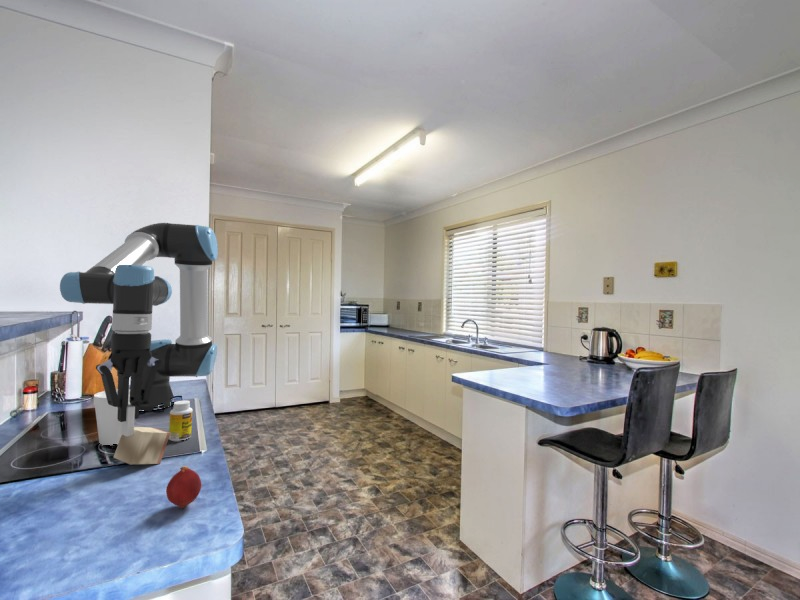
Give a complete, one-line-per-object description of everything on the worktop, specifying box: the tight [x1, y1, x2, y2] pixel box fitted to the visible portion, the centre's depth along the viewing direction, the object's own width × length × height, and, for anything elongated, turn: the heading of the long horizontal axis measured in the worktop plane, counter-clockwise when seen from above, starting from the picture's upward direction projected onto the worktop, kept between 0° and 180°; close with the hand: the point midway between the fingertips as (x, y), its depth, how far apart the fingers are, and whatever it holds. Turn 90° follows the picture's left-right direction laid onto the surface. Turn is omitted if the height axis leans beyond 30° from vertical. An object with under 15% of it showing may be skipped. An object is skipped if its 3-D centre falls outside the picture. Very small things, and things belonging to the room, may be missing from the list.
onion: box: [166, 465, 202, 509], centre depth 73 cm, size 6×6×8 cm
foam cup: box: [93, 388, 130, 446], centre depth 103 cm, size 10×9×13 cm
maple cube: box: [113, 426, 170, 465], centre depth 91 cm, size 7×7×7 cm
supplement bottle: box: [168, 399, 194, 442], centre depth 107 cm, size 6×6×10 cm
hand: (127, 434), depth 88 cm, fingers closed
